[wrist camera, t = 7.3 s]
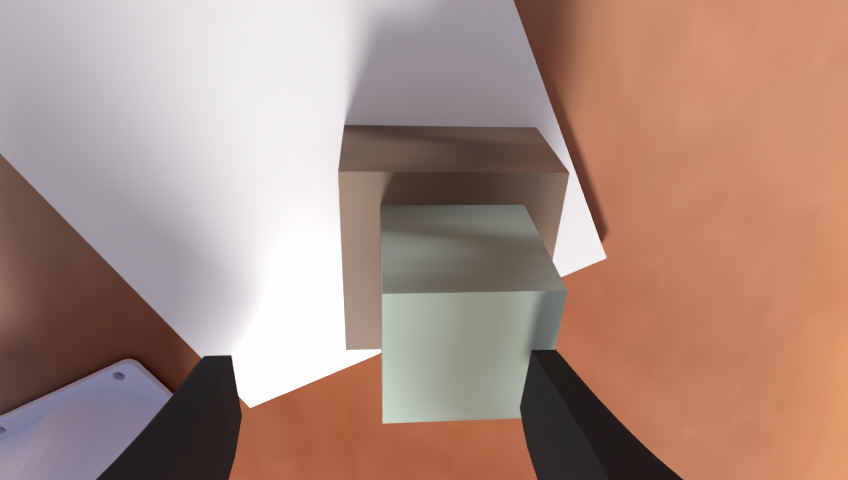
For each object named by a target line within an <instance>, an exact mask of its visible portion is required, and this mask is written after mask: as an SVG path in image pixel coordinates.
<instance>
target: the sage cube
mask: <svg viewBox="0 0 848 480" xmlns="http://www.w3.org/2000/svg"><path fill="white" fill-rule="evenodd" d="M380 283H381V363H382V415H383V423H405V422H431V421H457V420H482V419H508V418H521V413H520V404H521V399H522V394H523V389H524V384H525V379H526V375H527V370H528V365H529V360H530V355H531V350H555V346H556V342H557V337H558V332H559V328H560V323H561V318H562V314H563V309H564V304H565V300H566V295H567V289H566V287H565V285H564V283H563V281H562V279H561V277H560V275H559V273H558V271H557V269H556V267H555V265H554V263H553V261H552V259H551V257H550V255H549V253H548V251H547V249H546V247H545V245H544V243H543V241H542V239H541V237H540V235H539V233H538V231H537V229H536V227H535V225H534V223H533V221H532V219H531V217H530V215H529V213H528V211H527V209H526V207H525V205H380Z"/></svg>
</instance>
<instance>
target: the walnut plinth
mask: <svg viewBox="0 0 848 480" xmlns="http://www.w3.org/2000/svg"><path fill="white" fill-rule="evenodd" d="M569 174H570V173H569V171H568V170H567V168H566V167H565V166H564V164H563V163H562V162H561V160H560V159H559V158H558V156H557V155H556V153H555V152H554V151H553V149H552V148H551V147H550V145H549V144H548V143H547V141H546V140H545V138H544V137H543V136H542V134H541V133H540V132H539V130H538V129H537V128H536V127H464V126H386V125H344V129H343V137H342V144H341V152H340V160H339V168H338V184H339V207H340V230H341V253H342V276H343V299H344V322H345V346H346V350H376V349H381V283H380V205H525V207H526V209H527V211H528V213H529V215H530V217H531V219H532V221H533V223H534V225H535V227H536V229H537V231H538V233H539V235H540V237H541V239H542V241H543V243H544V245H545V247H546V249H547V251H548V253H549V255H550V257H551V259H552V261H553V255H554V250H555V245H556V240H557V235H558V230H559V225H560V220H561V215H562V209H563V204H564V199H565V194H566V189H567V184H568V179H569Z"/></svg>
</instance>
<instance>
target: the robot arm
mask: <svg viewBox="0 0 848 480" xmlns="http://www.w3.org/2000/svg"><path fill="white" fill-rule="evenodd" d="M118 372H120V373H122V374H120V373H118ZM520 413H521V418H522V423H523V429H524V434H525V438H526V443H527V448H528V451H529V454H530V457H531V460H532V463H533V467H534V470H535V473H536V476H537V479H538V480H683V479H682V478H681V477H679V476H678V475H677V474H676V473H675V472H673V471H672V470H671V469H670V468H669V467H668V466H666V465H665V464H664V463H663V462H662V461H660V460H659V459H658V458H657V457H656V456H655V455H654V454H653V453H651V452H650V451H649V450H648V449H647V448H646V447H645V446H644V445H643V444H642V443H641V442H640V441H639V440H638V439H637V438H636V437H635V436H634V435H633V434H632V433H631V432H630V431H629V430H628V429H627V428H626V427H625V426H624V425H623V424H622V423H621V422H620V421H619V420H618V419H617V418H616V417H615V416H614V415H613V414H612V413H611V412H610V411H609V410H608V408H607V407H606V406H605V405H604V404H603V403H602V402H601V401H600V400H599V399H598V398H597V397H596V395H595V394H594V393H593V392H592V391H591V390H590V389H589V388H588V386H587V385H586V384H585V383H584V382H583V381H582V380H581V378H580V377H579V376H578V375H577V374H576V373H575V371H574V370H573V369H572V368H571V367H570V365H569V364H568V363H567V362H566V361H565V360H564V358H563V357H562V356H561V355H560V354H559V353H558V352H557V351H556V350H531V355H530V360H529V365H528V370H527V375H526V379H525V384H524V389H523V394H522V399H521V404H520ZM241 418H242V414H241V408H240V403H239V397H238V391H237V385H236V379H235V373H234V367H233V361H232V355H213V356H204V357H203V358H201V359H200V361H199V362H198V363H197V365H196V366H195V367H194V368H193V370H192V371H191V372H190V374H189V375H188V376H187V378H186V379H185V380H184V381H183V383H182V384H181V385H180V386H179V388H178V389H177V390H176V391H175V393H174V394H172V393H171V392H170V391H169V390H168V389H167V388H166V387H165V386H164V385H163V384H162V383H161V382H160V381H158V380H157V379H156V378H155V377H154V376H153V375H152V374H151V373H150V372H149V371H148V370H147V369H145V368H144V367H143V366H142V365H141V364H140V363H139V362H137V361H136V360H133V359H125V360H122V361H119V362H117V363H115V364H113V365H111V366H109V367H106V368H104V369H102V370H100V371H98V372H95V373H93V374H91V375H89V376H87V377H84V378H82V379H80V380H78V381H76V382H74V383H71V384H69V385H67V386H65V387H63V388H60V389H58V390H56V391H54V392H52V393H50V394H47V395H45V396H43V397H41V398H39V399H36V400H34V401H32V402H30V403H28V404H25V405H23V406H21V407H19V408H17V409H15V410H12V411H10V412H8V413H6V414H4V415H1V416H0V480H228V479H229V475H230V472H231V469H232V465H233V462H234V458H235V453H236V447H237V442H238V436H239V430H240V424H241Z"/></svg>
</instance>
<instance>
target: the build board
mask: <svg viewBox="0 0 848 480" xmlns="http://www.w3.org/2000/svg"><path fill="white" fill-rule="evenodd" d="M344 125H386V126H464V127H536V128H537V129H538V130H539V132H540V133H541V134H542V136H543V137H544V138H545V140H546V141H547V143H548V144H549V145H550V147H551V148H552V149H553V151H554V152H555V153H556V155H557V156H558V158H559V159H560V160H561V162H562V163H563V164H564V166H565V167H566V168H567V170H568V171H569V173H570V174H569V179H568V184H567V189H566V194H565V199H564V204H563V209H562V215H561V220H560V225H559V230H558V235H557V240H556V245H555V250H554V255H553V263H554V265H555V267H556V269H557V271H558V273H559V275H560V277H563V276H565V275H567V274H570V273H572V272H575V271H577V270H579V269H582V268H584V267H586V266H589V265H591V264H594V263H596V262H598V261H601V260H603V259H605V258H606V256H605V253H604V250H603V247H602V244H601V242H600V239H599V236H598V233H597V231H596V228H595V225H594V222H593V219H592V217H591V214H590V211H589V208H588V206H587V203H586V200H585V197H584V194H583V192H582V189H581V186H580V183H579V181H578V178H577V175H576V172H575V169H574V167H573V164H572V161H571V158H570V156H569V153H568V150H567V147H566V145H565V142H564V139H563V136H562V133H561V131H560V128H559V125H558V122H557V120H556V117H555V114H554V111H553V108H552V106H551V103H550V100H549V97H548V95H547V92H546V89H545V86H544V83H543V81H542V78H541V75H540V72H539V70H538V67H537V64H536V61H535V58H534V56H533V53H532V50H531V47H530V45H529V42H528V39H527V36H526V33H525V31H524V28H523V25H522V22H521V20H520V17H519V14H518V11H517V8H516V6H515V3H514V0H0V154H1V155H2V156H3V157H4V158H5V159H6V160H7V161H8V162H9V163H10V164H11V165H12V166H13V167H14V168H15V169H16V170H17V171H18V172H19V173H20V174H21V175H22V176H23V177H24V178H25V179H26V180H27V181H28V182H29V183H30V184H31V185H32V186H33V187H34V188H35V189H36V190H37V191H38V192H39V193H40V194H41V195H42V197H43V198H44V199H45V200H46V201H47V202H48V203H49V204H50V205H51V206H52V207H53V208H54V209H55V210H56V211H57V212H58V213H59V214H60V215H61V216H62V217H63V218H64V219H65V220H66V221H67V222H68V223H69V224H70V225H71V226H72V227H73V228H74V229H75V230H76V231H77V232H78V233H79V234H80V235H81V236H82V237H83V238H84V239H85V240H86V241H87V242H88V243H89V244H90V245H91V246H92V247H93V248H94V249H95V250H96V251H97V252H98V253H99V254H100V255H101V256H102V257H103V258H104V260H105V261H106V262H107V263H108V264H109V265H110V266H111V267H112V268H113V269H114V270H115V271H116V272H117V273H118V274H119V275H120V276H121V277H122V278H123V279H124V280H125V281H126V282H127V283H128V284H129V285H130V286H131V287H132V288H133V289H134V290H135V291H136V292H137V293H138V294H139V295H140V296H141V297H142V298H143V299H144V300H145V301H146V302H147V303H148V304H149V305H150V306H151V307H152V308H153V309H154V310H155V311H156V312H157V313H158V314H159V315H160V316H161V317H162V318H163V319H164V320H165V321H166V322H167V324H168V325H169V326H170V327H171V328H172V329H173V330H174V331H175V332H176V333H177V334H178V335H179V336H180V337H181V338H182V339H183V340H184V341H185V342H186V343H187V344H188V345H189V346H190V347H191V348H192V349H193V350H194V351H195V352H196V353H197V354H198V355H199V356H200V357H201V358H203V357H204V356H213V355H232V361H233V367H234V373H235V379H236V385H237V391H238V396H239V397H240V398H241V399H242V400H243V401H244V402H245V403H246V404H247V405H248V406H249V407H250V408H251V407H253V406H256V405H258V404H260V403H263V402H265V401H267V400H270V399H272V398H275V397H277V396H279V395H282V394H284V393H286V392H289V391H291V390H294V389H296V388H298V387H301V386H303V385H306V384H308V383H310V382H313V381H315V380H317V379H320V378H322V377H325V376H327V375H329V374H332V373H334V372H336V371H339V370H341V369H344V368H346V367H348V366H351V365H353V364H356V363H358V362H360V361H363V360H365V359H367V358H370V357H372V356H375V355H377V354H379V353H381V349H376V350H346V346H345V322H344V299H343V276H342V253H341V230H340V207H339V184H338V168H339V160H340V152H341V144H342V137H343V129H344Z"/></svg>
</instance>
